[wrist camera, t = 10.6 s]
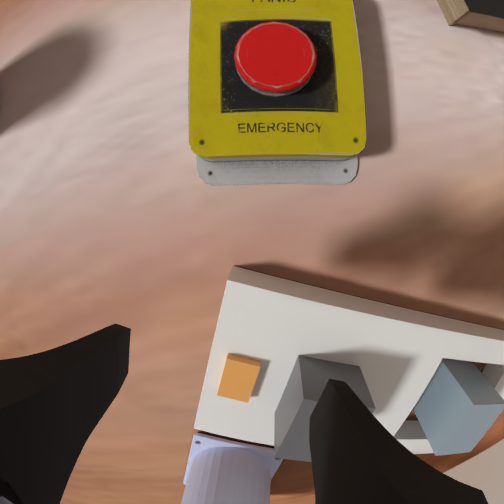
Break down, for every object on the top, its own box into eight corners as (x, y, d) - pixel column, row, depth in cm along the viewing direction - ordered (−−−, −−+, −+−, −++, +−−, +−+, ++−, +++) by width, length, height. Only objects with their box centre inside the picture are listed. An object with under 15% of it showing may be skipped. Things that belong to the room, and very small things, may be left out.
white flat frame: (459, 433, 22) (470, 453, 19) (200, 406, 22) (192, 433, 19) (521, 333, 19) (540, 349, 16) (232, 265, 19) (225, 283, 16)
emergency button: (179, 191, 14) (185, -56, 10) (199, 186, 18) (200, -22, 15) (378, 189, 14) (350, -59, 10) (355, 184, 18) (338, -24, 14)
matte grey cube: (330, 421, 19) (337, 464, 15) (274, 412, 19) (273, 457, 15) (359, 365, 18) (375, 408, 14) (298, 354, 18) (303, 399, 14)
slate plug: (444, 407, 21) (470, 451, 16) (411, 406, 21) (435, 455, 16) (472, 362, 20) (506, 403, 14) (439, 358, 20) (473, 404, 14)
